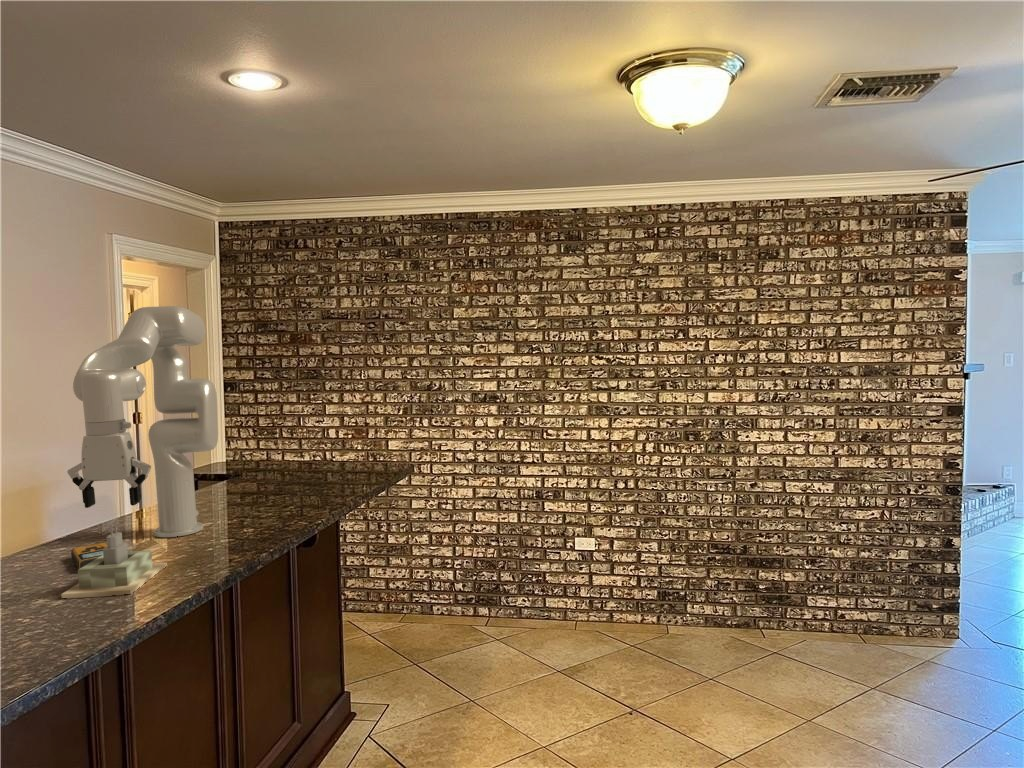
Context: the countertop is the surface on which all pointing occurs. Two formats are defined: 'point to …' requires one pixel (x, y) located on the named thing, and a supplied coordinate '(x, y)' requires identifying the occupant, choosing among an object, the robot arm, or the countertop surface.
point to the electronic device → (87, 554)
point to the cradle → (114, 576)
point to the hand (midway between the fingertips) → (112, 505)
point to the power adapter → (115, 549)
